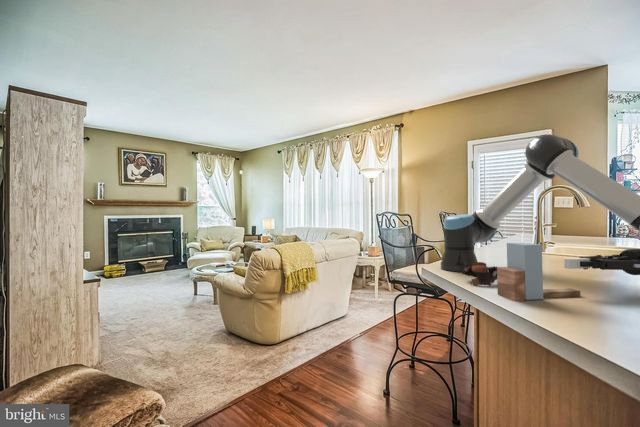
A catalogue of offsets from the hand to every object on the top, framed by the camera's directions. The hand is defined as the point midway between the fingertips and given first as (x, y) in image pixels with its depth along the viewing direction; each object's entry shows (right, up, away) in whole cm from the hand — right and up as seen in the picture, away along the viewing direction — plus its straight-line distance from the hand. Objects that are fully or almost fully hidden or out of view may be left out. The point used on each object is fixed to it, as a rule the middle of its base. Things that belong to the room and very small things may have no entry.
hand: (566, 263), depth 87 cm
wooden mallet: (-8, -9, -1) cm, 12 cm away
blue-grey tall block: (-13, -9, -1) cm, 16 cm away
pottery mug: (-15, -10, +17) cm, 25 cm away
